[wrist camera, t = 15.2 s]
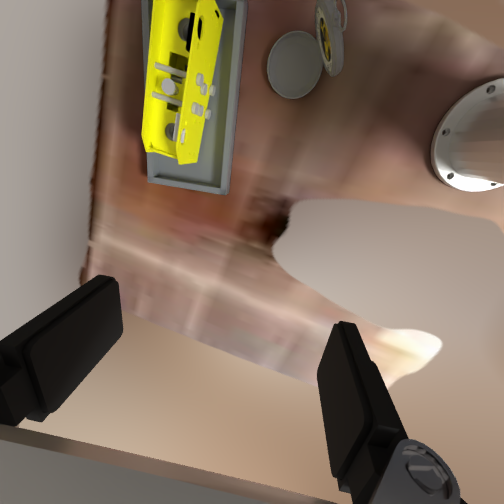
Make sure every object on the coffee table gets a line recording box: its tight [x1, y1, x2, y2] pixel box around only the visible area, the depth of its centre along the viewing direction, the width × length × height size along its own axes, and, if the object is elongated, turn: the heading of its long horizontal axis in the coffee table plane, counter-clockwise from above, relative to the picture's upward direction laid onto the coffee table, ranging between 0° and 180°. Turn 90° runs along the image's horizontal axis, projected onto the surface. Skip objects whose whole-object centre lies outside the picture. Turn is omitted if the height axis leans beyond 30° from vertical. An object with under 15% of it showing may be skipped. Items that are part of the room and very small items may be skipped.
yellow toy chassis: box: [141, 0, 223, 165], centre depth 27 cm, size 16×6×8 cm, turn 163°
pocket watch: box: [267, 0, 347, 99], centre depth 24 cm, size 8×8×10 cm
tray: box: [141, 0, 248, 195], centre depth 31 cm, size 12×22×2 cm, turn 172°
